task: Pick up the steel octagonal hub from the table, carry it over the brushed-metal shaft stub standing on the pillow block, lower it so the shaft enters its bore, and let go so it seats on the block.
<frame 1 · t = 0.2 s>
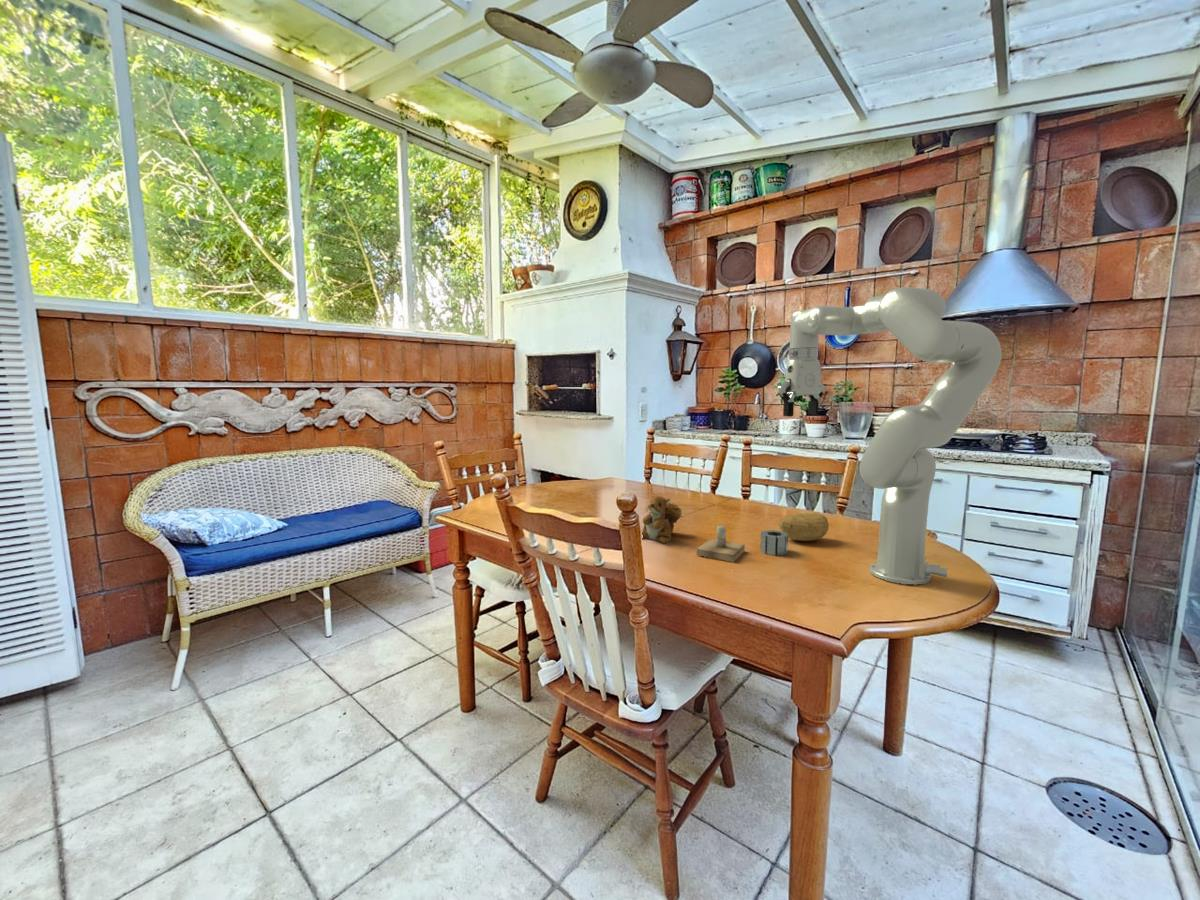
hand: (800, 415, 147), 37 cm above the table, tool pointing down, fingers open, 9 cm apart
stuffed squirrel: (660, 537, 156), on the table
shaft stand: (720, 553, 140), on the table
potato: (802, 541, 150), on the table
hub: (773, 551, 141), on the table
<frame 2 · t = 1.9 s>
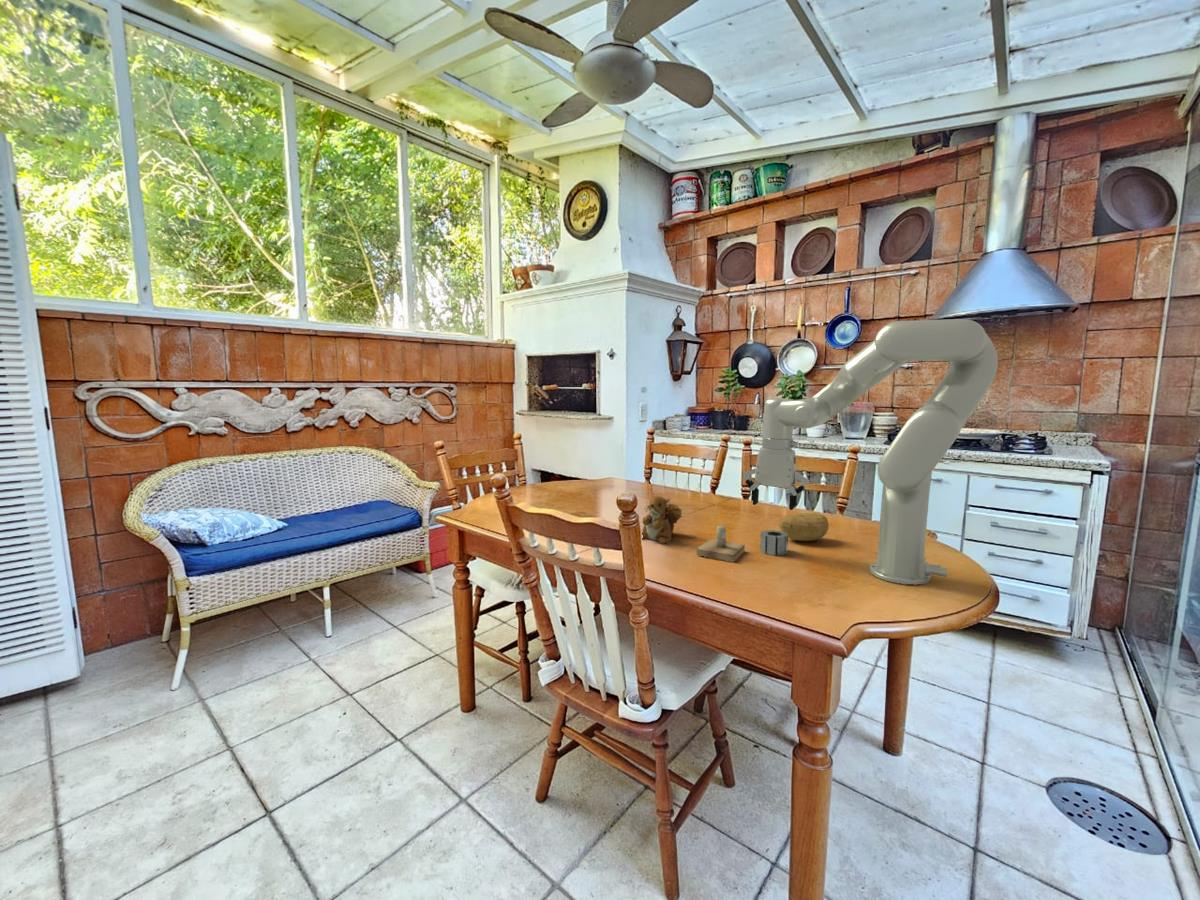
hand: (773, 506, 140), 13 cm above the table, tool pointing down, fingers open, 9 cm apart
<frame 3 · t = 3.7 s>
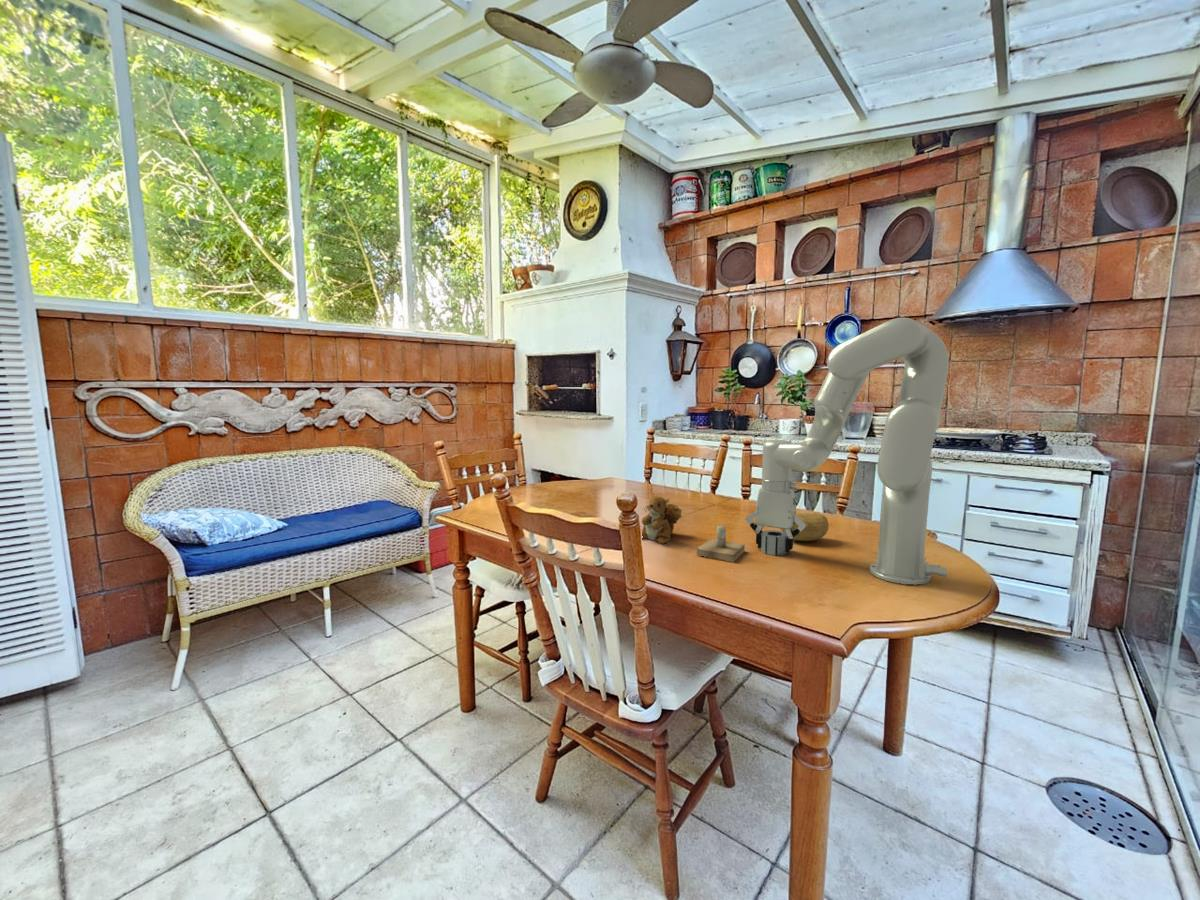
hand: (774, 548, 141), 1 cm above the table, tool pointing down, fingers closed on hub, 6 cm apart
hub: (773, 551, 141), on the table, touching gripper
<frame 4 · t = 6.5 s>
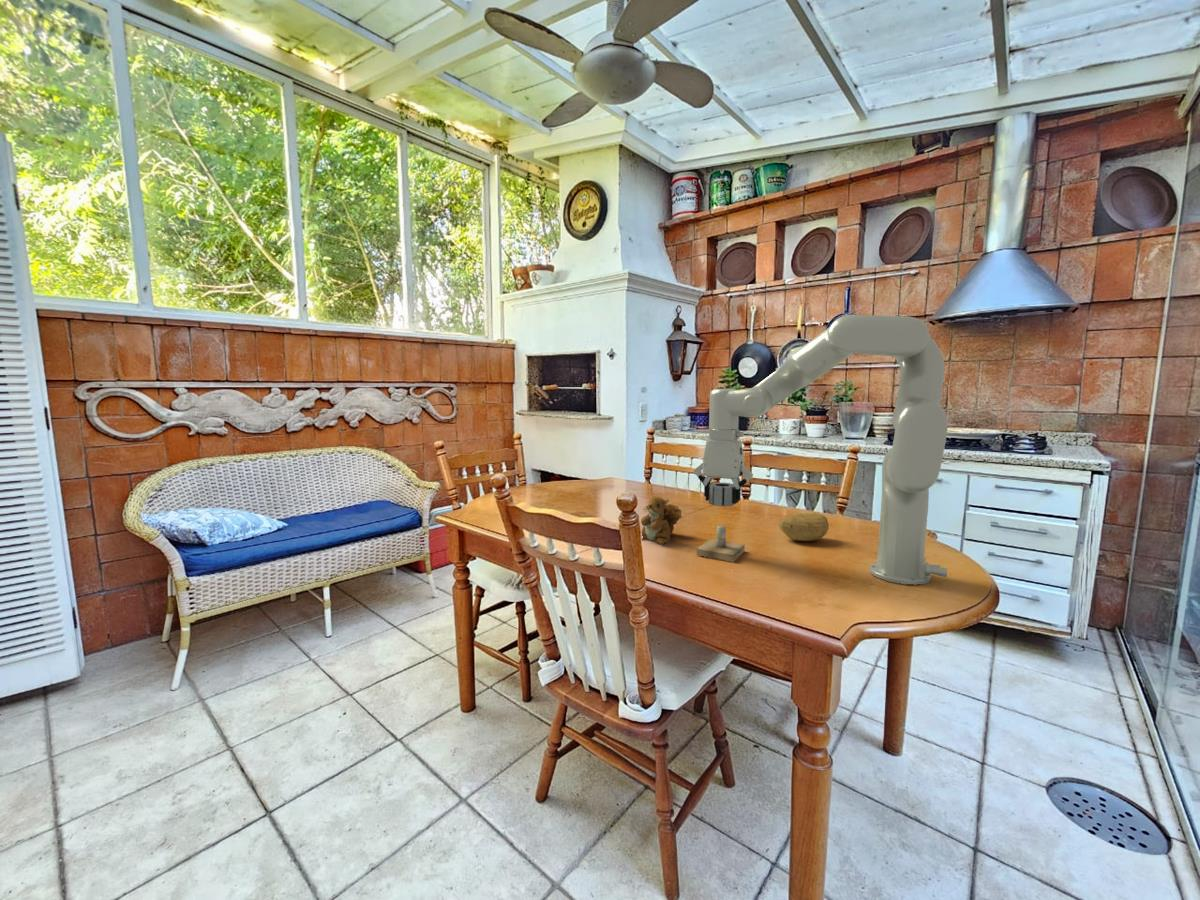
hand: (722, 500, 138), 15 cm above the table, tool pointing down, fingers closed on hub, 6 cm apart
hub: (722, 503, 138), point 14 cm above the table, touching gripper
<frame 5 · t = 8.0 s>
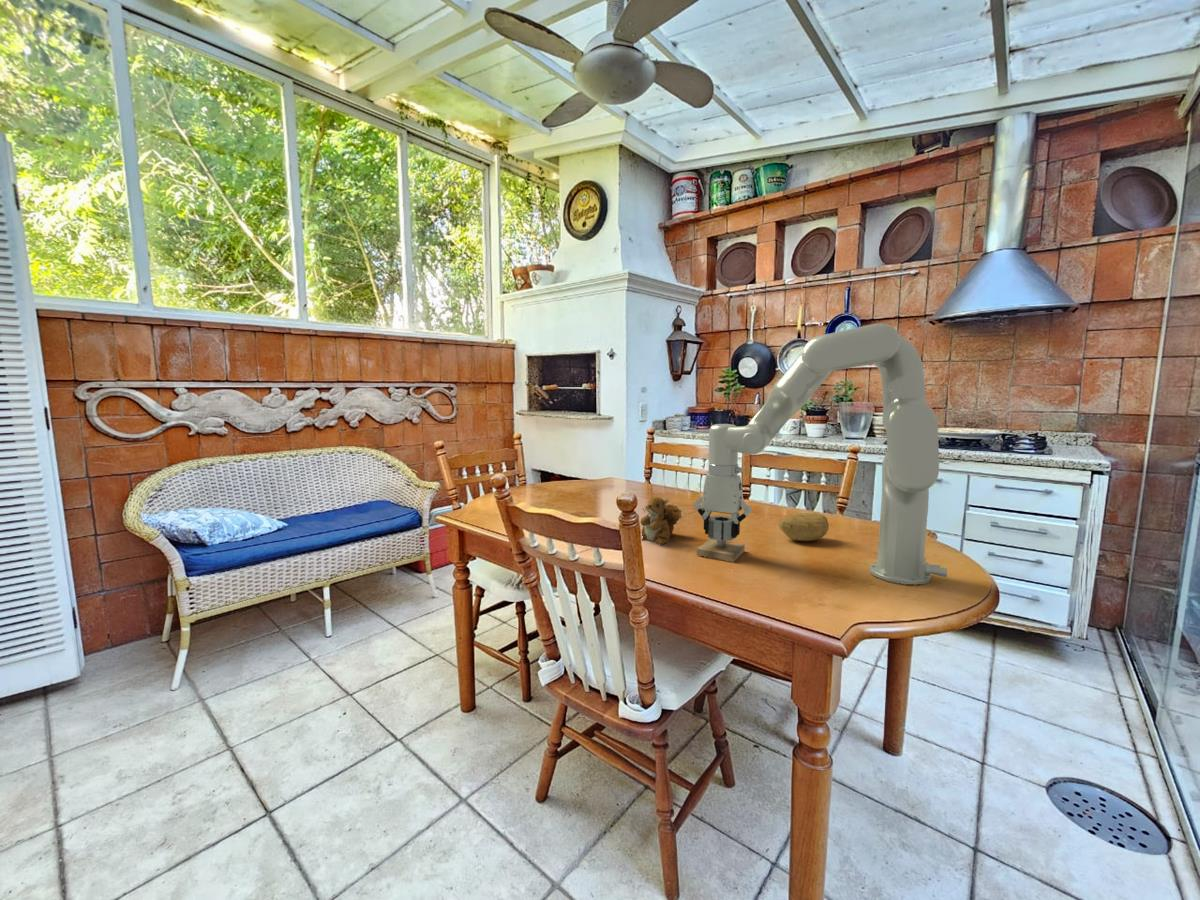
hand: (721, 534, 139), 5 cm above the table, tool pointing down, fingers closed on hub, 6 cm apart
hub: (721, 536, 139), point 5 cm above the table, touching gripper
when the fingers open (5 cm above the table, at t = 9.1 s): hub drops 2 cm, resting on shaft stand.
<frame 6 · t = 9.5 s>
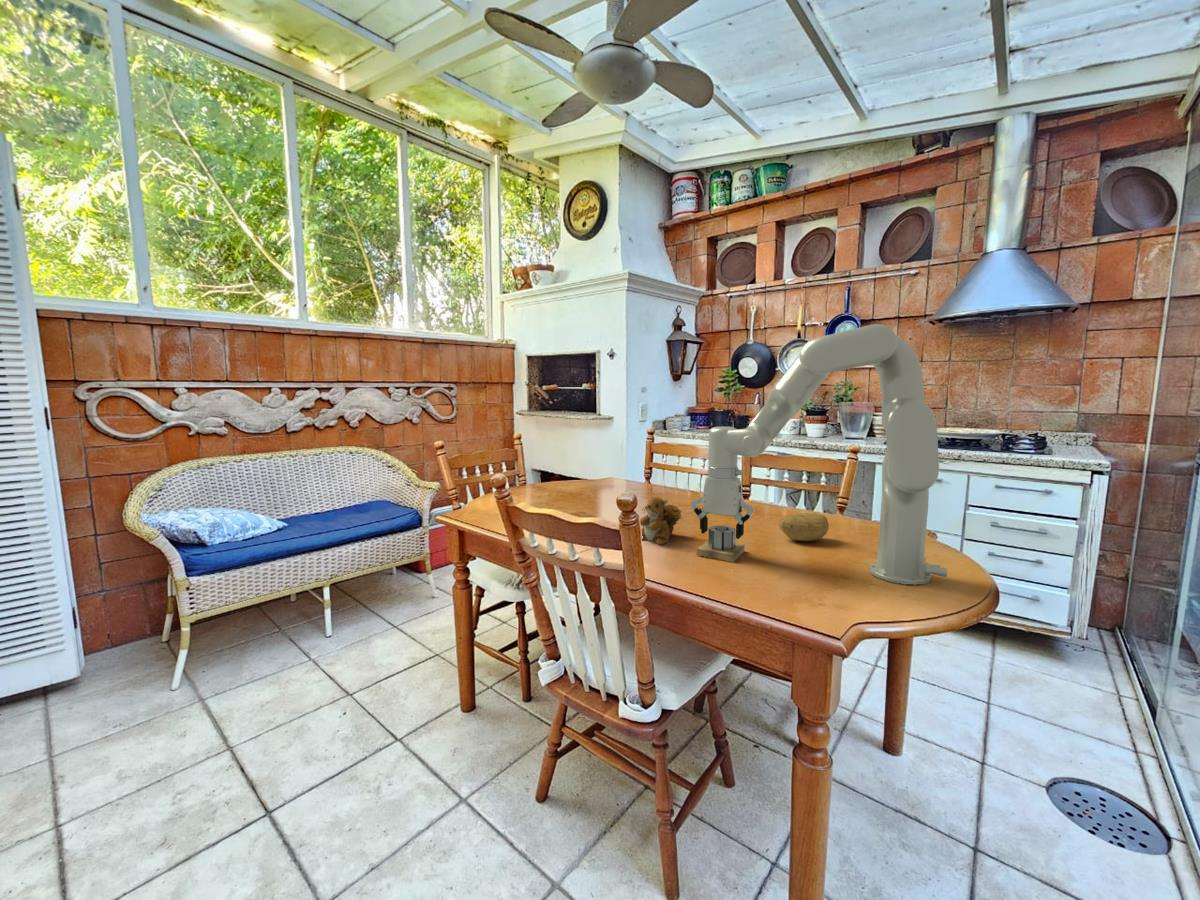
hand: (721, 534, 139), 5 cm above the table, tool pointing down, fingers open, 9 cm apart
hub: (721, 546, 139), point 2 cm above the table, touching shaft stand
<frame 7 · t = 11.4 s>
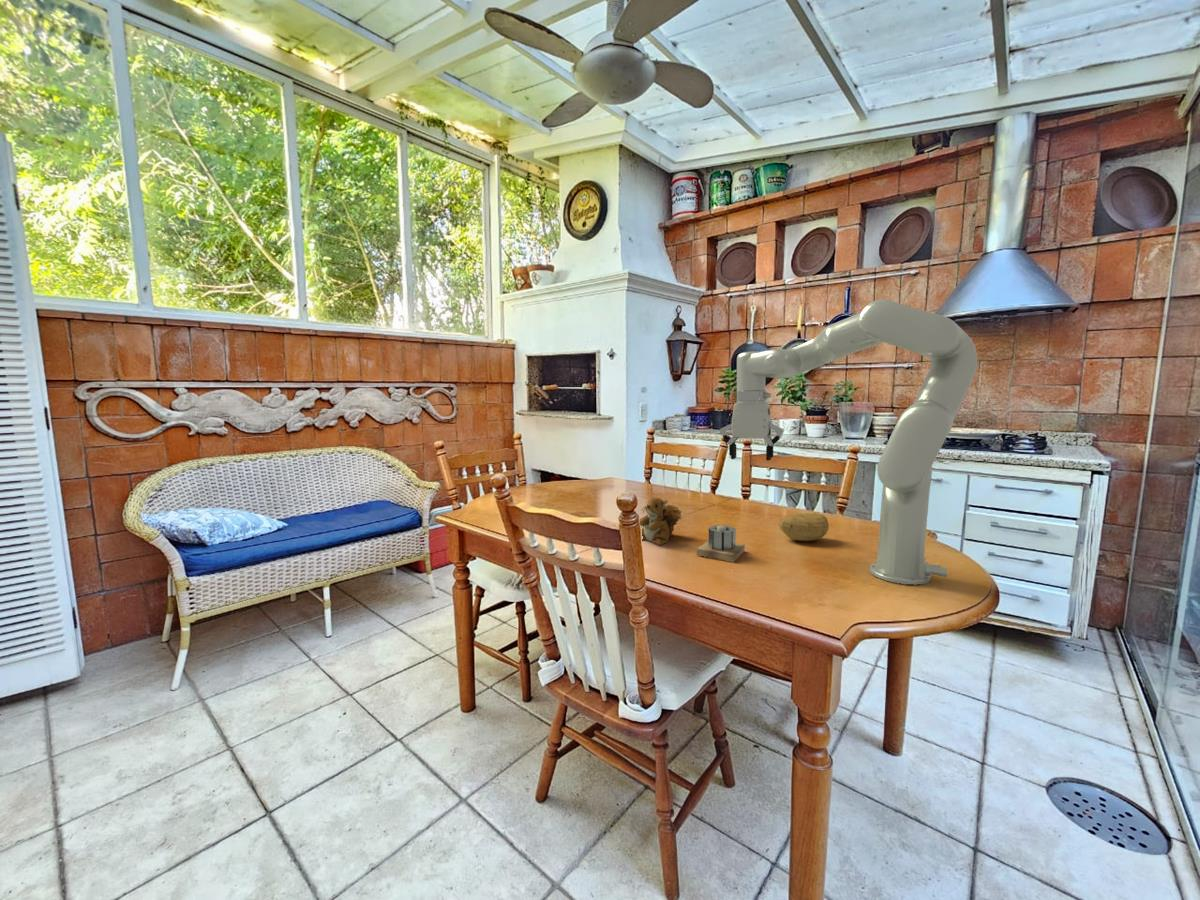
hand: (750, 459, 142), 25 cm above the table, tool pointing down, fingers open, 9 cm apart
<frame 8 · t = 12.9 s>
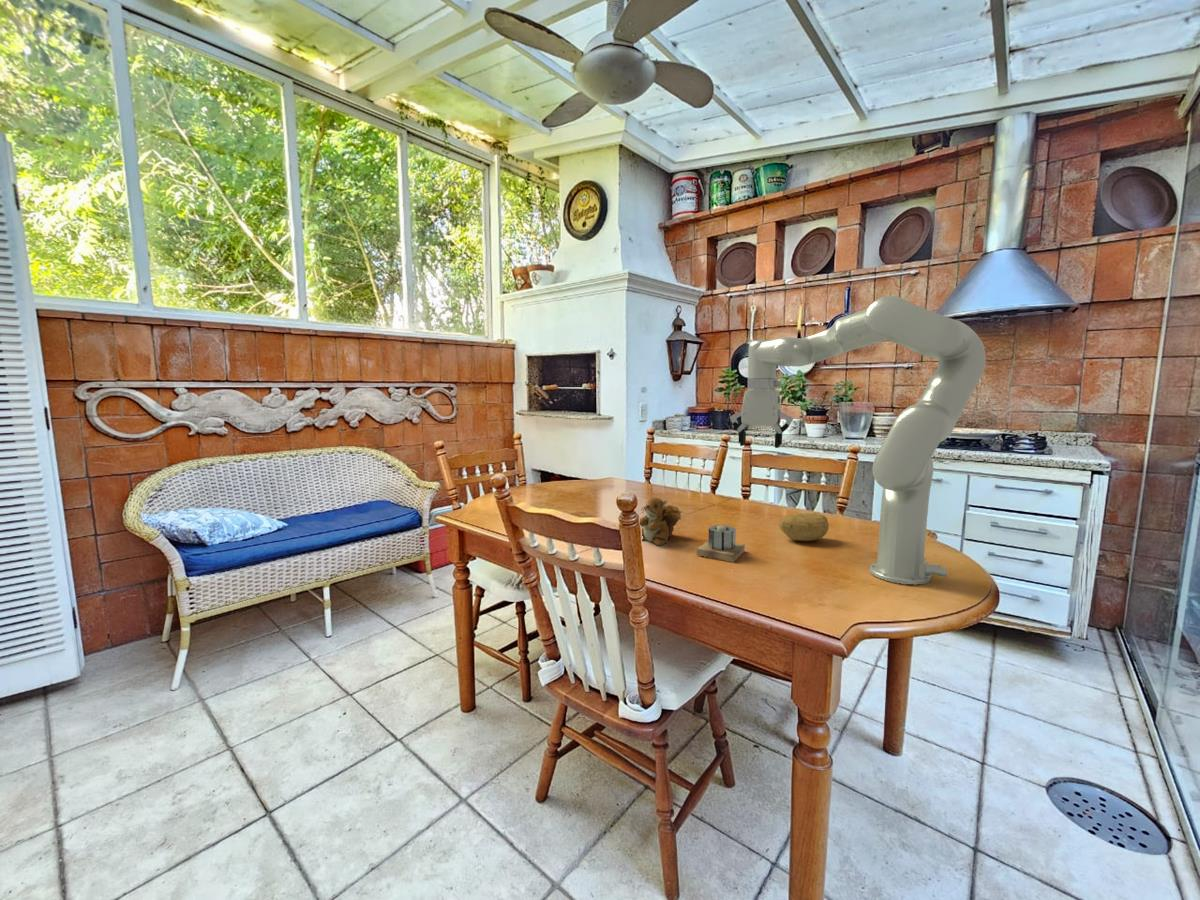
hand: (759, 446, 145), 28 cm above the table, tool pointing down, fingers open, 9 cm apart
at the end: hub 0.2 cm off-centre on the shaft stand, point 2.0 cm above the shaft stand's base; hub tilted 0°; the gripper is holding nothing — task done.
